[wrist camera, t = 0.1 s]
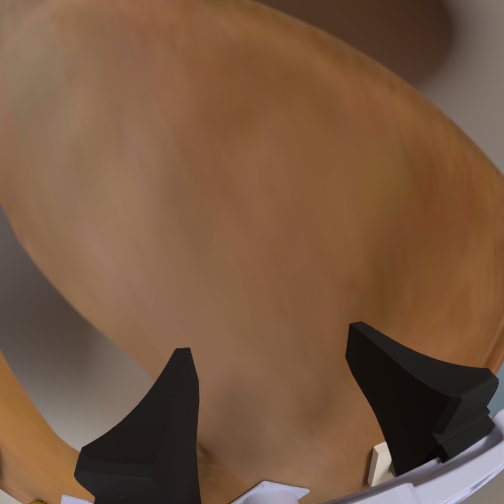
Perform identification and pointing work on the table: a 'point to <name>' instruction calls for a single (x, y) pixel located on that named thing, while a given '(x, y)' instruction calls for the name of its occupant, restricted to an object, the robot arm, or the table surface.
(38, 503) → the lemon
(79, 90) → the table surface
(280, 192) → the table surface
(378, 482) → the sleeve block
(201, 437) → the table surface
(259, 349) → the table surface
